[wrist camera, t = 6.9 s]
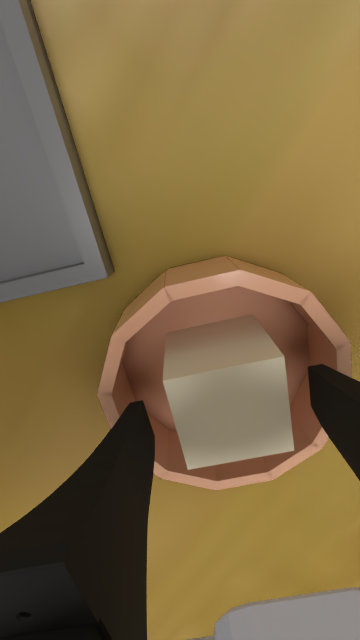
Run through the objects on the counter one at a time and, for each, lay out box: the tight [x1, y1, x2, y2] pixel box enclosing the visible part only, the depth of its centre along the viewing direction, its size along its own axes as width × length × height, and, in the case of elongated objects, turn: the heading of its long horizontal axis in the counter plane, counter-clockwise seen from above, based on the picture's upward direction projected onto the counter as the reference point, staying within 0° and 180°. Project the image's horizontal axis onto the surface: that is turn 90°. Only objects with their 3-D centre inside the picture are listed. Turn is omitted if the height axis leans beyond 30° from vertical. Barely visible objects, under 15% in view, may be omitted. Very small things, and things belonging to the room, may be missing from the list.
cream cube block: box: [163, 314, 294, 470], centre depth 13 cm, size 4×4×4 cm
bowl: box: [97, 256, 352, 490], centre depth 15 cm, size 11×11×4 cm
